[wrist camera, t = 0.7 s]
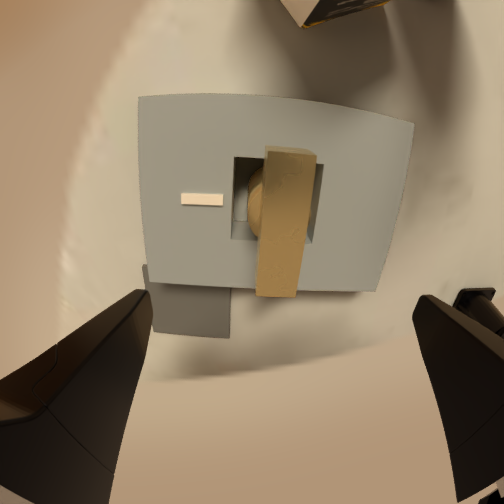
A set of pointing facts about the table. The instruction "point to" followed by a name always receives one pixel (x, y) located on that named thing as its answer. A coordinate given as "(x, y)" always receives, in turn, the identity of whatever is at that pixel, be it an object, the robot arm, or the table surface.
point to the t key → (280, 217)
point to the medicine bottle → (325, 9)
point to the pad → (189, 308)
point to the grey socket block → (253, 145)
